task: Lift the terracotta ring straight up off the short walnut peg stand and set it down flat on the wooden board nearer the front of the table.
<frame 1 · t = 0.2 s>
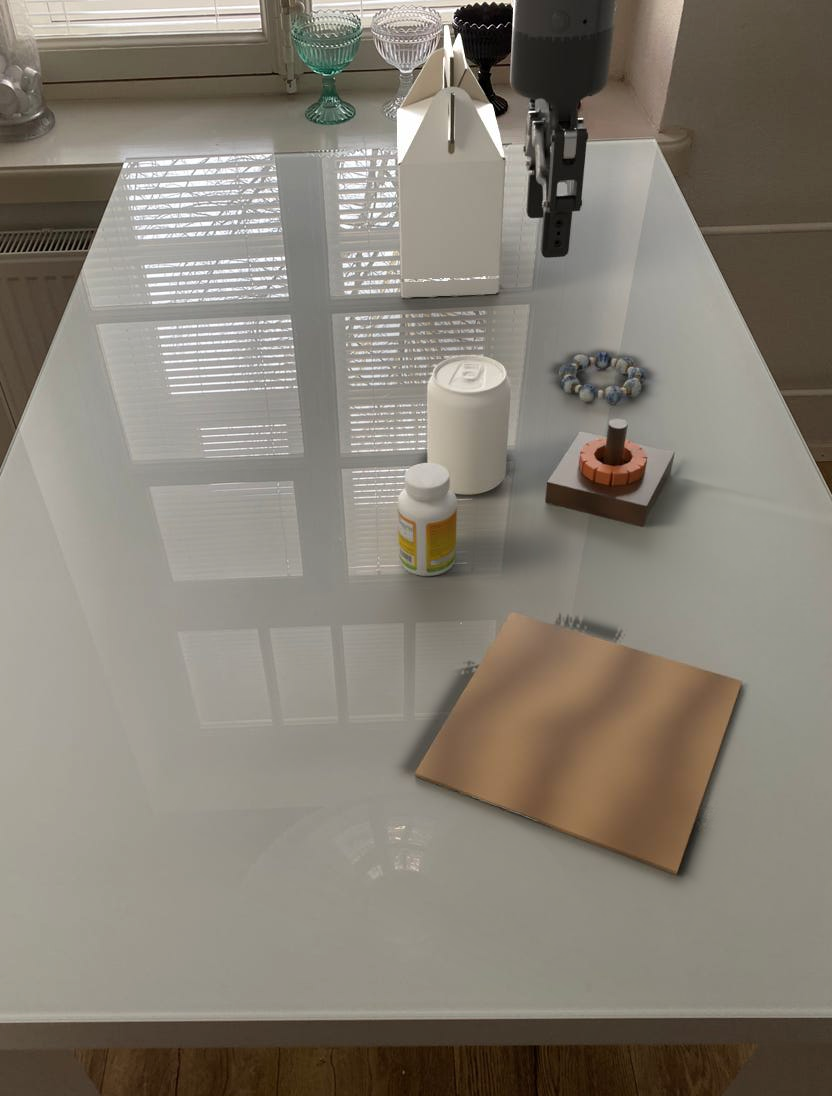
hand: (546, 235, 86), 25 cm above the table, tool pointing down, fingers open, 8 cm apart
supplement bottle: (427, 561, 94), on the table
bracelet: (599, 387, 115), on the table
beverage can: (466, 478, 104), on the table
ring: (611, 466, 99), point 2 cm above the table, touching peg stand
wooden board: (583, 728, 78), on the table
gable box: (446, 264, 142), on the table
peg stand: (608, 487, 101), on the table
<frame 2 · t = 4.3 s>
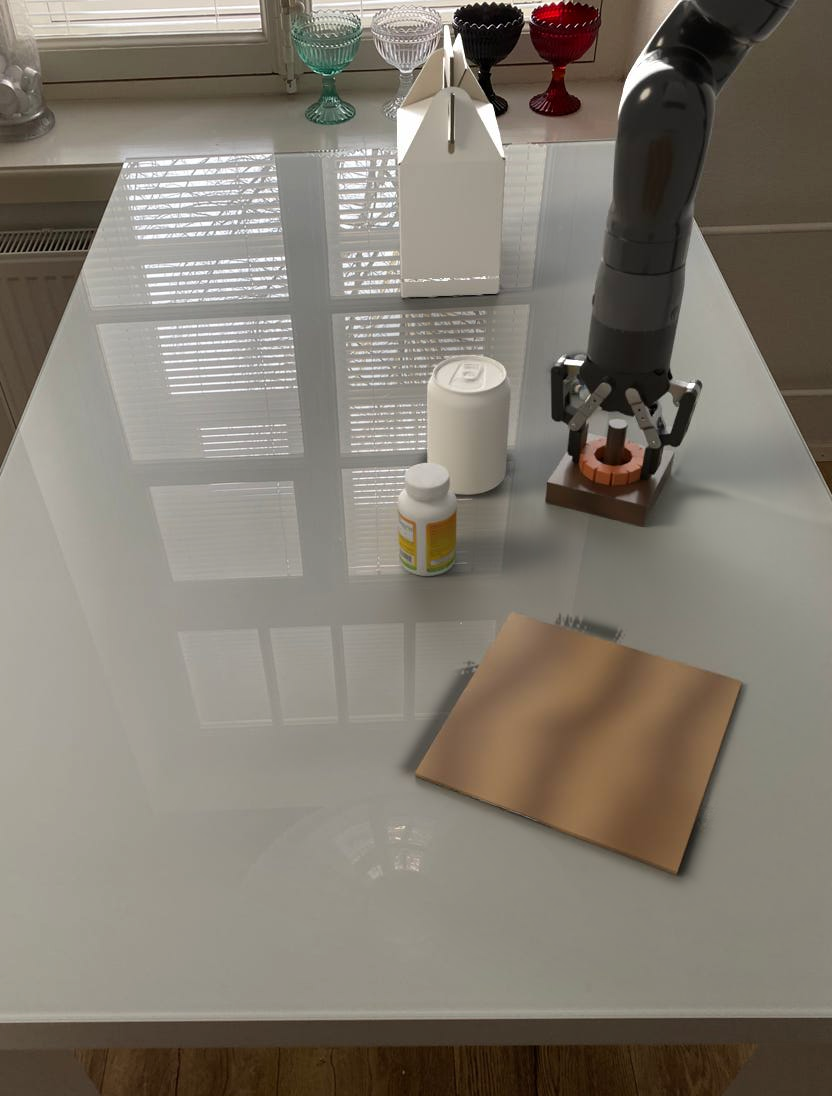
hand: (611, 465, 99), 3 cm above the table, tool pointing down, fingers closed on ring, 6 cm apart
ring: (611, 466, 99), point 3 cm above the table, touching gripper, peg stand
everything else where it was.
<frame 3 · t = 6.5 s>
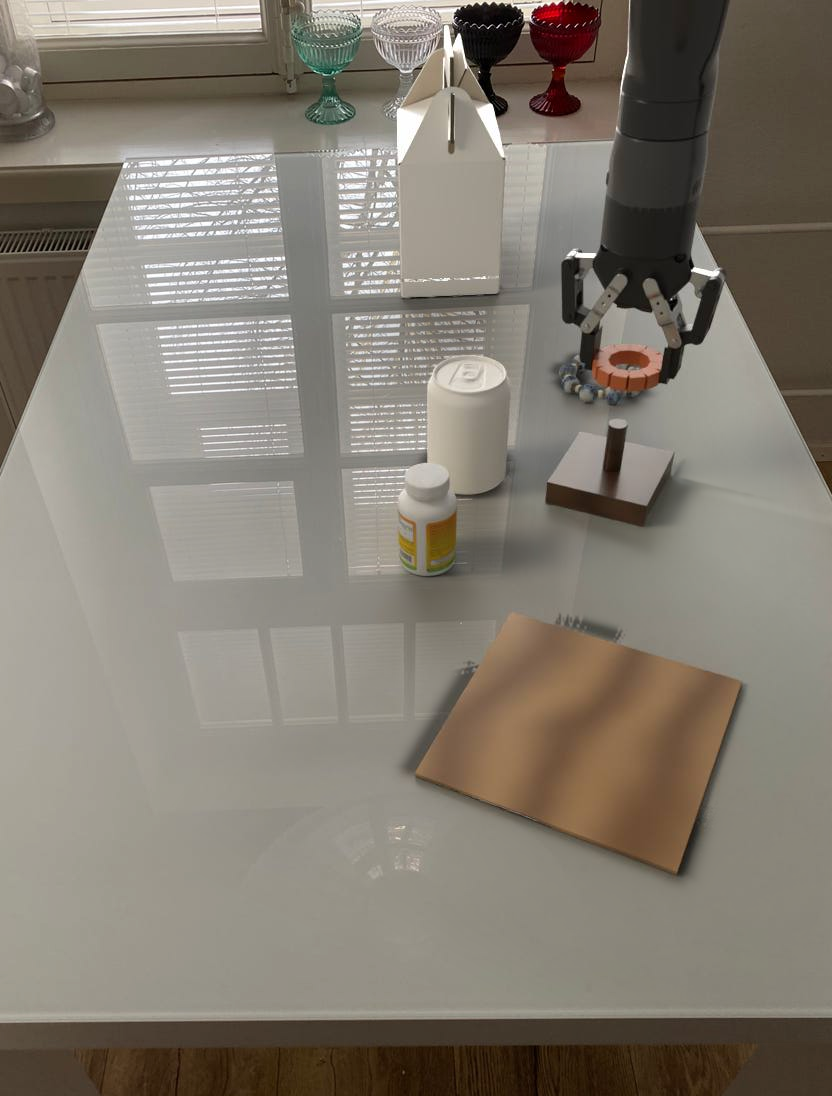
hand: (627, 372, 92), 13 cm above the table, tool pointing down, fingers closed on ring, 6 cm apart
ring: (627, 374, 92), point 13 cm above the table, touching gripper
everything else where it was.
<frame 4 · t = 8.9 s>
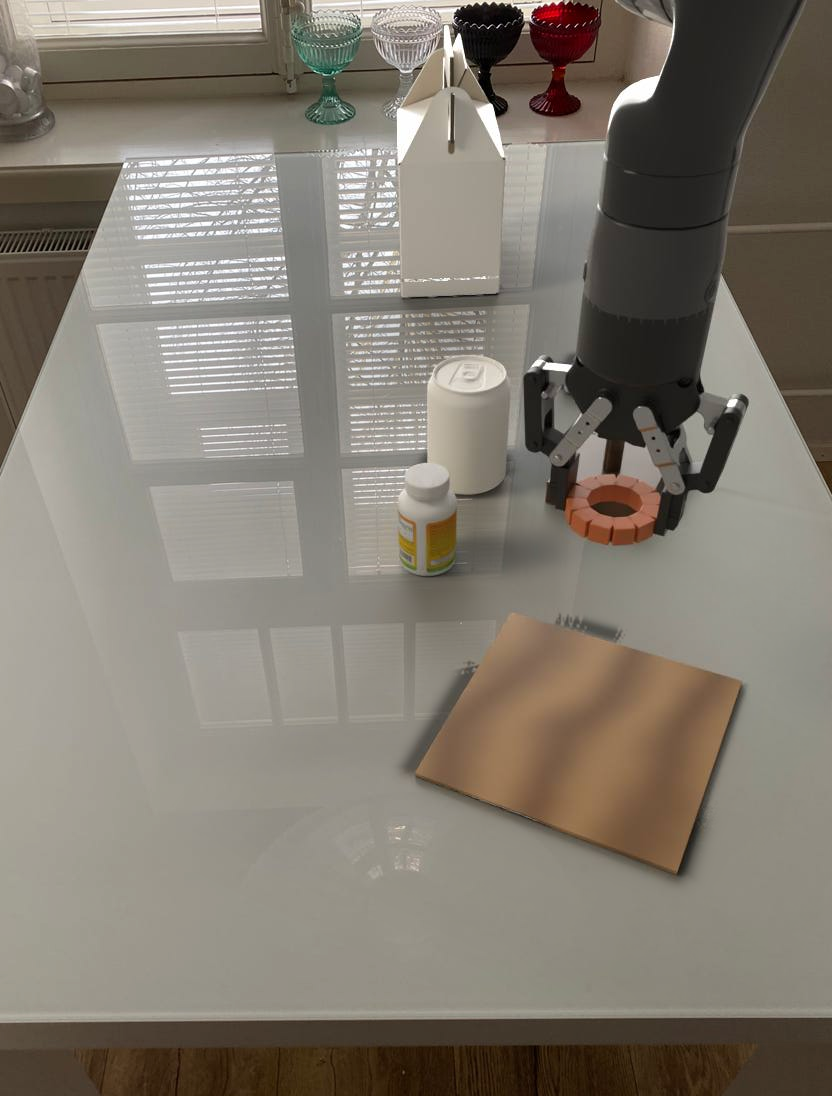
hand: (612, 515, 69), 18 cm above the table, tool pointing down, fingers closed on ring, 6 cm apart
ring: (612, 517, 69), point 18 cm above the table, touching gripper
everything else where it was.
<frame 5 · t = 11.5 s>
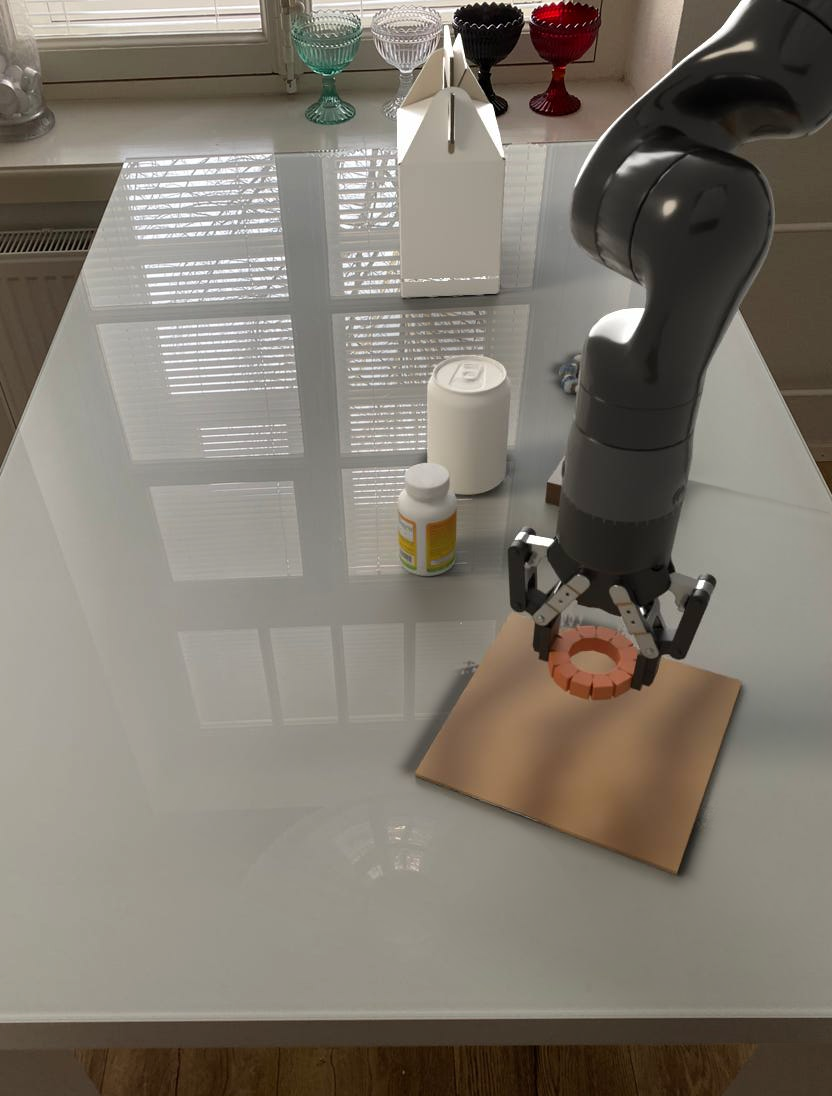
hand: (592, 667, 73), 7 cm above the table, tool pointing down, fingers closed on ring, 6 cm apart
ring: (592, 668, 74), point 7 cm above the table, touching gripper
everything else where it was.
when the fingers open (1 cm above the table, at t = 13.6 s): ring stays where it is, resting on wooden board.
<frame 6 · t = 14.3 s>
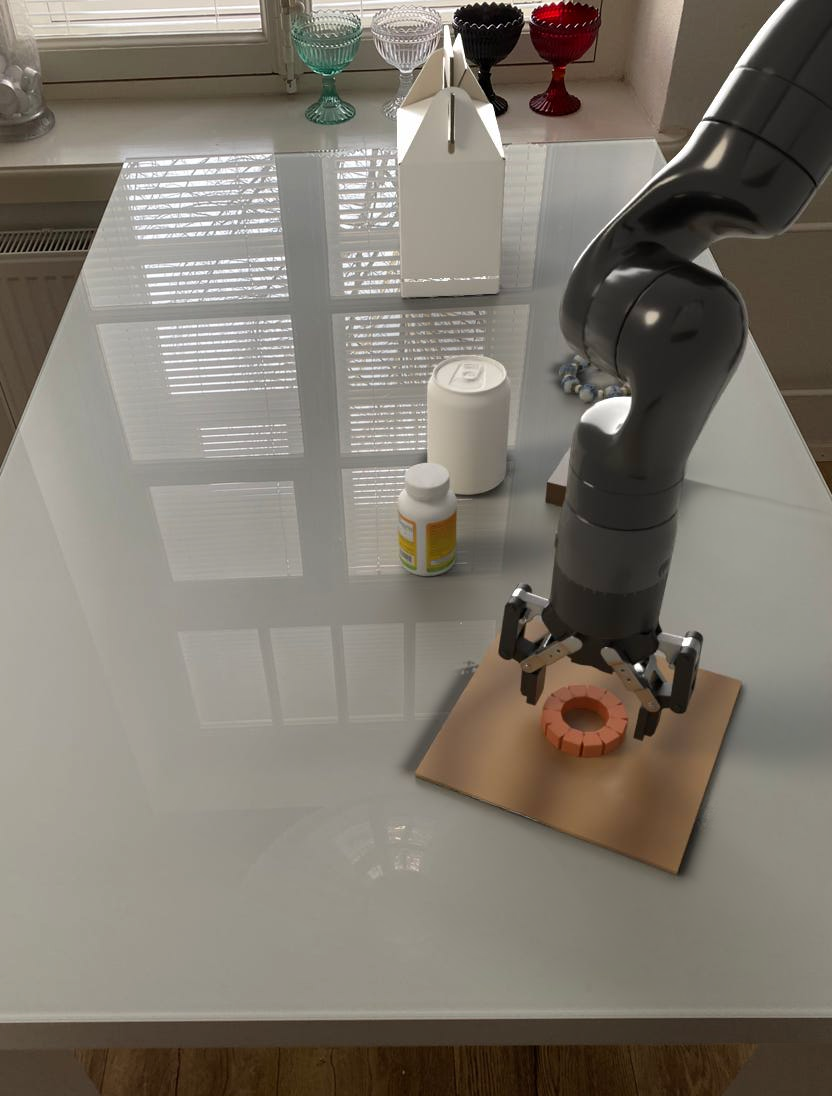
hand: (586, 714, 77), 2 cm above the table, tool pointing down, fingers open, 8 cm apart
ring: (583, 725, 78), resting on wooden board
everything else where it was.
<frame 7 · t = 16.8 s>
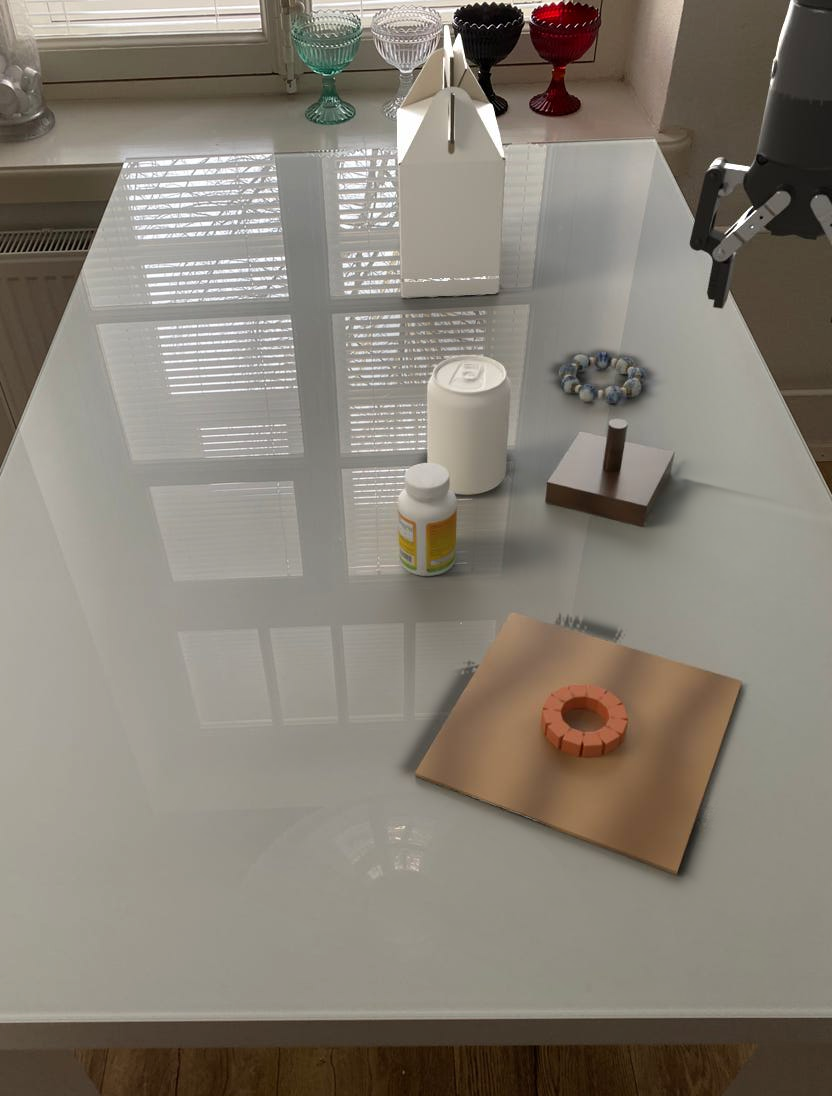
hand: (776, 311, 76), 24 cm above the table, tool pointing down, fingers open, 8 cm apart
nothing on the table moved.
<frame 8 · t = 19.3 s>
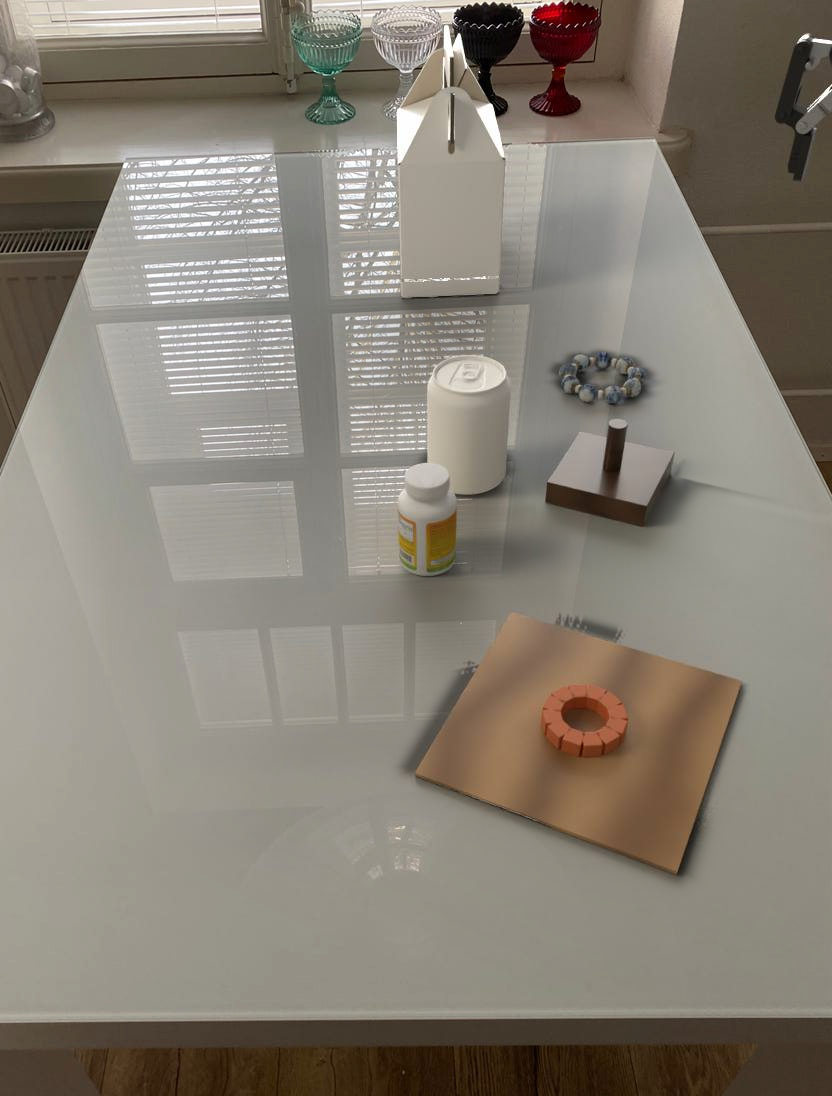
nothing on the table moved.
at the end: ring inside the target area on the wooden board (0.0 cm from its centre), point 0.4 cm above the wooden board's base; ring touching wooden board; ring tilted 0° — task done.
